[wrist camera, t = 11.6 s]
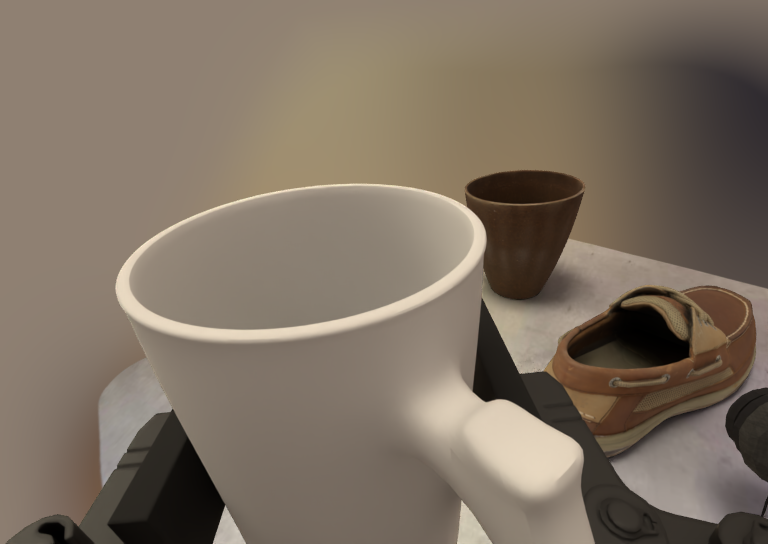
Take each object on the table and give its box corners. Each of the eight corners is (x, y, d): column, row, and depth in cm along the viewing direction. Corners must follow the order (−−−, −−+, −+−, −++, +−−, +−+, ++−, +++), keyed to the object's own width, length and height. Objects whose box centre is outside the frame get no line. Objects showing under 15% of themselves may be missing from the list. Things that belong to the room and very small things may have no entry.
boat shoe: (778, 351, 40) (825, 267, 35) (621, 510, 28) (656, 420, 23) (666, 305, 48) (690, 233, 43) (509, 413, 37) (517, 332, 32)
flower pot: (478, 320, 50) (480, 210, 42) (456, 268, 63) (455, 176, 55) (587, 309, 50) (610, 195, 42) (543, 259, 63) (554, 165, 55)
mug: (242, 523, 14) (105, 230, 8) (384, 427, 17) (359, 170, 11) (417, 999, 7) (291, 1489, 1) (605, 672, 10) (846, 306, 4)
